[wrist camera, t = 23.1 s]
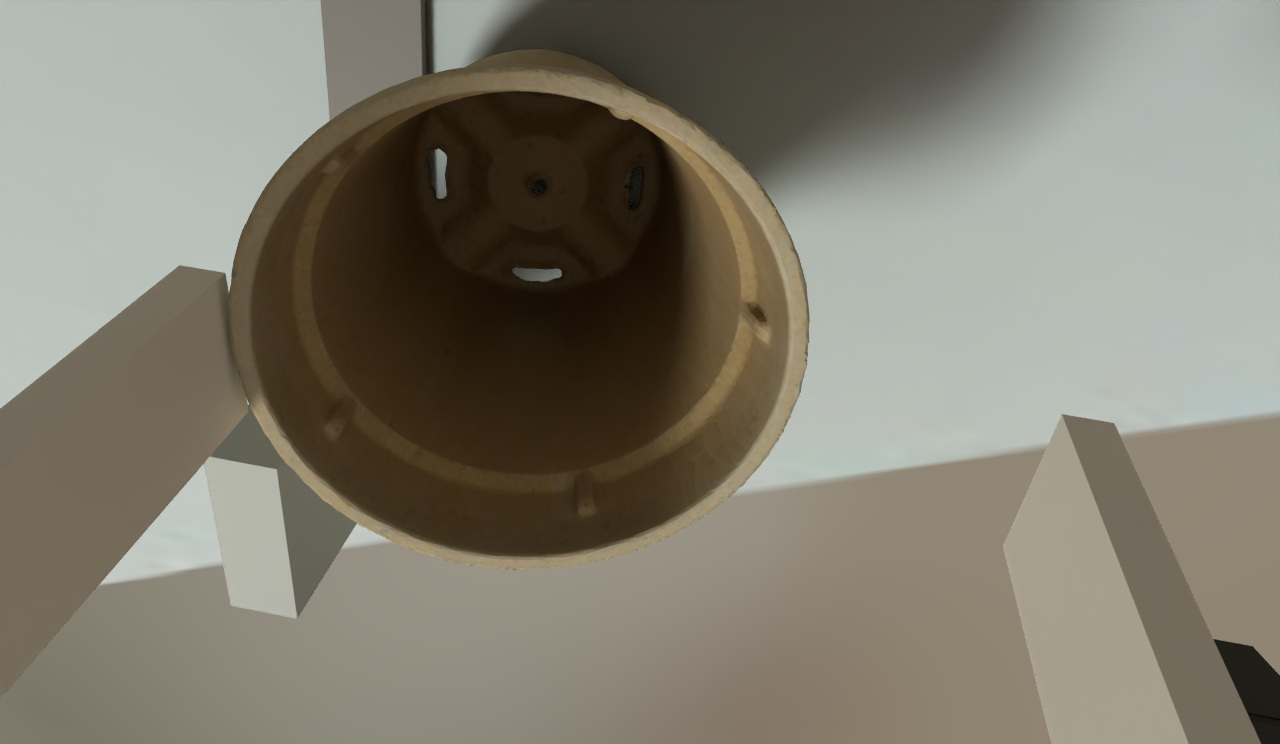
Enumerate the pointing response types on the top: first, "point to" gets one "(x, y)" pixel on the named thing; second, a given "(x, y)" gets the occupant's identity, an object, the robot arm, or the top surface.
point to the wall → (247, 460)
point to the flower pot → (518, 316)
